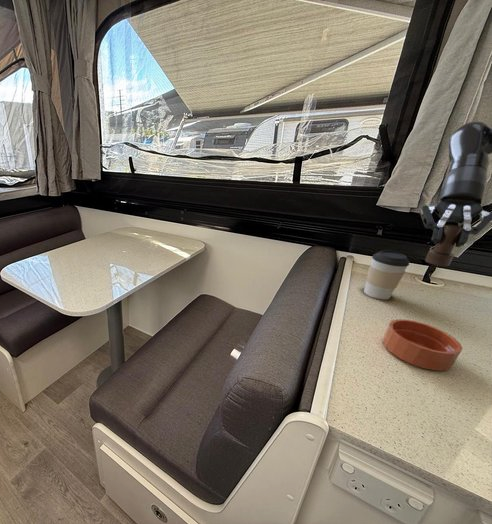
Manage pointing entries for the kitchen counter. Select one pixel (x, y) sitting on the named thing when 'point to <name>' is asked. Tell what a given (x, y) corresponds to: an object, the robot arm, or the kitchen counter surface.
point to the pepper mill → (444, 246)
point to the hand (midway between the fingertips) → (448, 243)
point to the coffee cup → (385, 273)
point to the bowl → (421, 344)
